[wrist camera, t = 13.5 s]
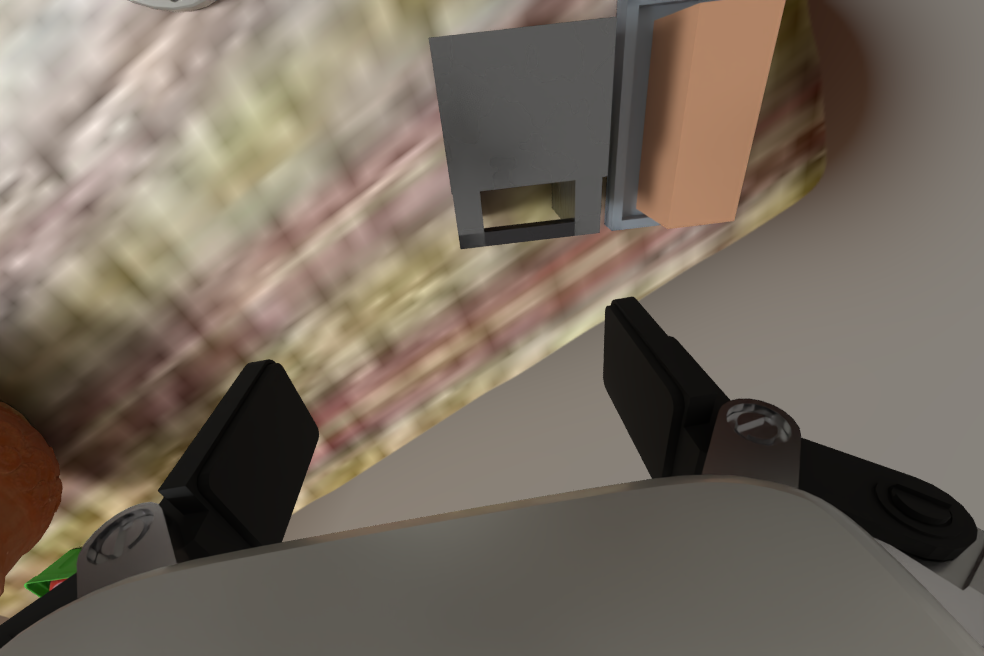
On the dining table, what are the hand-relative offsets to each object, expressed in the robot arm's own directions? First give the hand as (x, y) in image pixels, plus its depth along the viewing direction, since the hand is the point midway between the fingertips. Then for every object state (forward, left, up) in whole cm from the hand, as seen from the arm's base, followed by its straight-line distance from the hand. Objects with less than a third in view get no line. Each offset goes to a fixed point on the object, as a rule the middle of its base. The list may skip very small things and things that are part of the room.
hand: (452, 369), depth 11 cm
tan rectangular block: (-3, +18, -24) cm, 30 cm away
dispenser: (-3, +5, -25) cm, 26 cm away
